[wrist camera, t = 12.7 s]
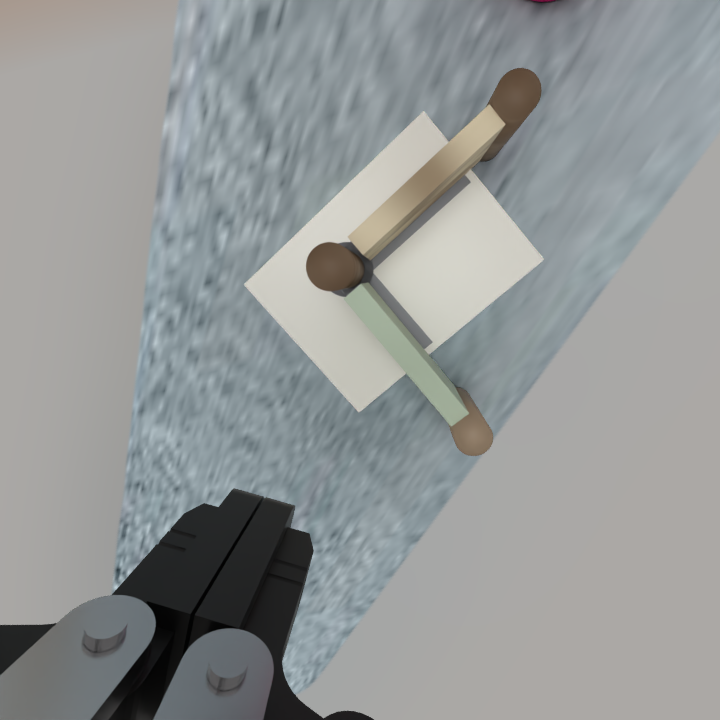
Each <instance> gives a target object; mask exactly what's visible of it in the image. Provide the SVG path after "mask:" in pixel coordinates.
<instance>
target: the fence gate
mask: <svg viewBox="0 0 720 720" xmlns="http://www.w3.org/2000/svg"><path fill="white" fill-rule="evenodd" d="M344 300H345V301H346V302H347V304H348V305H349V306H350V307H351V308H352V310H353V311H354V312H355V313H356V314H357V315H358V317H359V318H360V319H361V320H362V321H363V323H364V324H365V325H366V326H367V327H368V329H369V330H370V331H371V332H372V333H373V334H374V336H375V337H376V338H377V339H378V340H379V342H380V343H381V344H382V345H383V346H384V348H385V349H386V350H387V351H388V352H389V353H390V355H391V356H392V357H393V358H394V359H395V361H396V362H397V363H398V364H399V365H400V367H401V368H402V369H403V370H404V371H405V372H406V374H407V375H408V376H409V377H410V378H411V380H412V381H413V382H414V383H415V384H416V386H417V387H418V388H419V389H420V390H421V391H422V393H423V394H424V395H425V396H426V397H427V399H428V400H429V401H430V402H431V403H432V404H433V406H434V407H435V408H436V409H437V410H438V412H439V413H440V414H441V415H442V416H443V418H444V419H445V420H446V421H447V422H448V424H449V427H450V430H451V433H452V435H453V438H454V441H455V444H456V446H457V448H458V449H459V450H460V451H461V452H462V453H464V454H466V455H470V456H477V455H481V454H483V453H485V452H486V451H487V450H488V449H489V448H490V447H491V445H492V442H493V433H492V430H491V429H490V427H489V425H488V424H487V422H486V421H485V419H484V417H483V416H482V414H481V413H480V411H479V409H478V408H477V406H476V405H475V403H474V401H473V400H472V398H471V397H470V395H469V394H468V392H467V391H466V390H464V389H462V388H458V387H455V386H454V385H453V383H452V382H451V381H450V380H449V379H448V377H447V376H446V375H445V374H444V373H443V371H442V370H441V369H440V368H439V367H438V365H437V364H436V363H435V362H434V361H433V359H432V358H431V357H430V356H429V355H428V353H427V352H426V351H425V350H424V349H423V347H422V346H421V345H420V344H419V343H418V341H417V340H416V339H415V338H414V337H413V335H412V334H411V333H410V332H409V331H408V329H407V328H406V327H405V326H404V325H403V323H402V322H401V321H400V320H399V319H398V317H397V316H396V315H395V314H394V313H393V311H392V310H391V309H390V308H389V307H388V305H387V304H386V303H385V302H384V301H383V299H382V298H381V297H380V296H379V295H378V293H377V292H376V291H375V290H374V289H373V287H372V286H371V285H370V284H369V283H362V284H360V285H359V286H358V287H356V288H355V289H354V290H353V291H352V292H351V293H350V294H348V295H347V296H346V297H345V298H344Z"/></svg>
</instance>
